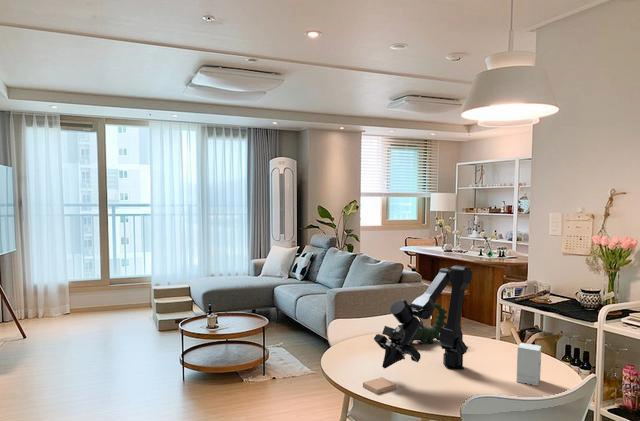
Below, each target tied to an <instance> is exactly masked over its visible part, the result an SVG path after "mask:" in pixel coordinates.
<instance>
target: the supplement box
mask: <svg viewBox="0 0 640 421" xmlns="http://www.w3.org/2000/svg"><path fill="white" fill-rule="evenodd" d="M516 352H517V355H516V356H517V358H516V382H517V383H520V384H525V383H527V384H526V385H530V384H532V385H531V386H535V385H538V386H539V384H540V381H541V372H542V370H541V368H542V367H541V366H542V346H541V345H538V344H533V343H532V344H530V343H524V342H520V343H519V345H518V346H517V351H516Z"/></svg>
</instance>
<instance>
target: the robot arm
mask: <svg viewBox="0 0 640 421" xmlns="http://www.w3.org/2000/svg"><path fill="white" fill-rule="evenodd" d="M472 277H473V271H472V269H471V268H470V267H469V266H464V265H463V266H462V265H457V264H455V265H452V266H451V267H445V268H444V267H442V268H440V269H438V274H437V275H436V276H435V277H434V279H433V281H432V282H431V283H430V284H429V286H428V287H427V289H426V290H425V292H424V293H423V294H421V295H419V296H417V297H416V298H415V299H414V300H413V301H412V302H411V303H410V304H409V303H408V302H407V300H406V299H403V298H400V300H398V301H397V302H394V303H393V304H392V305H391V306H390V309H389V311H390V313H391V314H392V316H394V318H395V319H396V320H397V322H398V323H399V324H400V325H401V326H400V328H399V327H398V326H397V327H395V328H393V327H391V326H390V327H389V326H387V325H384V326H383V327H384V328H383V331H382V333H381V334H380V333H377V334H375V336H374V338H373V340H374V342H375V343H376V344H377V345H378V347H379V348H381V349H383V350H385V351H384V352H385V353H384V358H383V362H382V365H381V367H382V368H383V369H387V368H389V367H390V366H392V365H394V364H396V363H397V362H399V361H402V360H405V359H406V357H405V356H406V355H407V356H408V355H409V356H410V360H411V361H413V362H415V363H419V361H420V360H421V353H420V352H419V351H418V349H417V348H416V347H415V346H413V345H412V344H411V345H409V343H410V341H411V342H413V343H414V342H415V341H414V339H413V337H414V335H415V333H416V332H417V330H418V329H419V328H420V329H424V321H422V320H429V319H430V318H431V316H432V315H433V312H434V311H435V308H434V303H436V301H437V300H438V298H439V297H440V296H441V295H442V292H443V291H444V289H445V288H446V286H448V284H450V285H451V291H450V298H449V299H450V300H449V305H448V311H447V320H446V325H445V326H443V328H442V327H441V328H440V333H439V343H440V347H441V349H442V350H444V352H443V357H442V359H443V360H442V363H443V365H444V366H445V367H446V369H447V370H464V369H465V367H464V365H463V364H464V355H465V354H466V353H467V352H468V345H466V343H465V342H464V341H463V340H464V339H463V336H464V335H463V332H462V329H461V319H462V314H463V313H462V312H463V305H464V299H465V292H466V290H467V288H468V287H469V285H470V284H471V281H472ZM419 319H422V320H419ZM386 336H387V337H386Z"/></svg>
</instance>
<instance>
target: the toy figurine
mask: <svg viewBox="0 0 640 421" xmlns="http://www.w3.org/2000/svg"><path fill="white" fill-rule="evenodd" d="M434 309H436V310H437V314H436V319H435V320H434V324H433V325H432V327H426V326H424V325H423V326H424V329H420V328H419V329H418V330H417V332H416V333H415V335H414V337H413V339H414V341H413V342H411V341H410V343H409V344H408V345H411V346H412V344H414V342H415V341H418V342H419V341H420V343H421V344H423V345H425V344H427V342H428V343H429V344H434V343H435V341H434V340H435V339H436V341H439V335H440V328H441V327H442V328H443V327H444V326H445V325H446V324H447V322H445V320H446V319H447V318H448V315H447V316H446V314H448V311H447V310H446V309H445V308H443V307H442V306H441V304H439V303H437V302H435V303H434ZM401 325H402V324H399V325H397V327H398V328H400V326H401ZM439 342H440V341H439Z"/></svg>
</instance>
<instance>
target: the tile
mask: <svg viewBox="0 0 640 421" xmlns="http://www.w3.org/2000/svg"><path fill="white" fill-rule="evenodd" d="M362 387H363V388H364V389H366V390H368V391H370V392H372V393H373V394H376V395H378V394H381V392H382V393H384V392H388V391H390V390H394V389H396V388H397V384H396V383H395V382H393V381H391V380H389V379H386V378H385V377H378V378H374V379H370V380H367V381H363V382H362Z"/></svg>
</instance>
